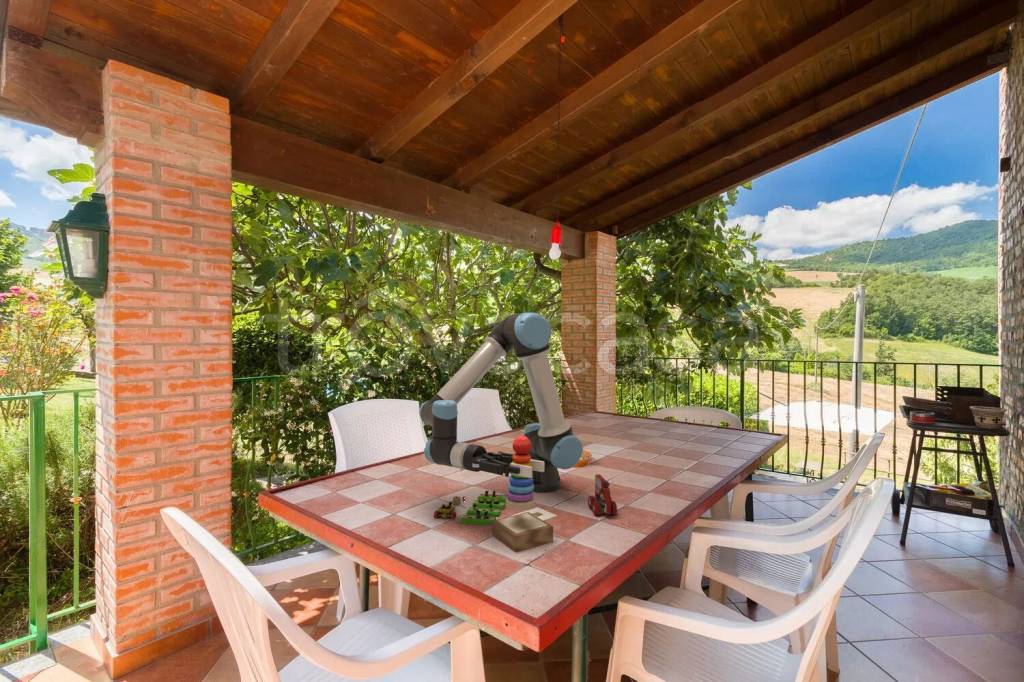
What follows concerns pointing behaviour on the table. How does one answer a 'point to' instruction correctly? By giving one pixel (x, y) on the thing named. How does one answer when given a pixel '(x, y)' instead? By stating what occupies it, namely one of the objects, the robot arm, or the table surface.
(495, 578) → the table surface
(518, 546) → the pedestal
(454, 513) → the toy garden set
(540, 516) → the page
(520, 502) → the stacking toy
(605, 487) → the toy fire truck
